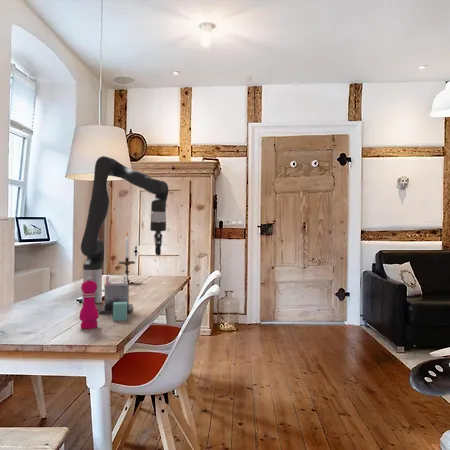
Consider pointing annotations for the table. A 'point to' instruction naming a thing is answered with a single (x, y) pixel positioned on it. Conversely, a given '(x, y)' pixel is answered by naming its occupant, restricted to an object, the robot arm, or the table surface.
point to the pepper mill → (89, 305)
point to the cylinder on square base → (115, 295)
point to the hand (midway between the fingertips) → (157, 254)
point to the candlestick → (127, 259)
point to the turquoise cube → (119, 311)
